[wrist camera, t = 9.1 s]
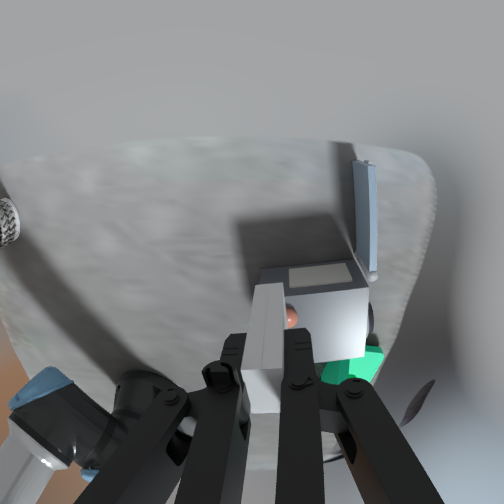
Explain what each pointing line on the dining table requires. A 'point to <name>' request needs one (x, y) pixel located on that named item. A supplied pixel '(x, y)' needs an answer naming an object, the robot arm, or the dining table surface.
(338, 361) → the camera mount
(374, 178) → the side door
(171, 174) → the dining table surface
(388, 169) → the dining table surface
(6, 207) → the decorative candle
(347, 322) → the housing
